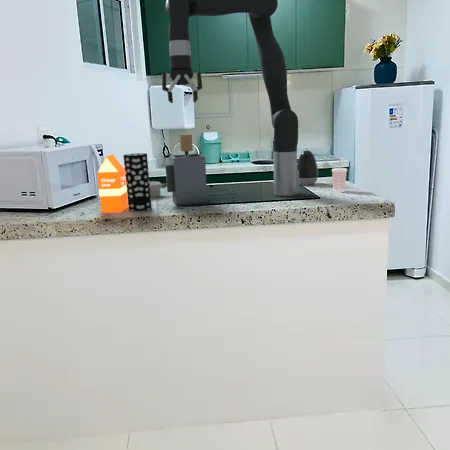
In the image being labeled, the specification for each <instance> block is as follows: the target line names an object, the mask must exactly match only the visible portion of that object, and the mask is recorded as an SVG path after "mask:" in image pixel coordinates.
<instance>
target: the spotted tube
mask: <svg viewBox="0 0 450 450" xmlns="http://www.w3.org/2000/svg"><path fill="white" fill-rule="evenodd" d="M122 156H123V165H124V166H123V168H124V170H125V180H126V189H127V200H128V207H127V208H128V211H130V212H145V211H149V210H151V209H152V200H151V199H152V198H151V195H150V183H149V182H150V174H149V162H148V161H149V160H148V153H145V152H142V153H141V152H140V153H135V152H134V153H127V154H123V155H122Z"/></svg>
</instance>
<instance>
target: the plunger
mask: <svg viewBox="0 0 450 450" xmlns="http://www.w3.org/2000/svg"><path fill="white" fill-rule="evenodd" d="M178 135H179V148H180V149H179V150H180V152H184V155H185V157H189V154H190V153H189V152H192V151H194V149H193V147H194V146H193V135H192V134H191V133H185V134H184V133H182V134H178Z"/></svg>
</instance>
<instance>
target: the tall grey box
mask: <svg viewBox="0 0 450 450" xmlns="http://www.w3.org/2000/svg"><path fill="white" fill-rule="evenodd" d="M164 166H165V175H166V176H165V177H166V183H167V186H166V190H167V193H171V195H172V203H174V205H175V207H176V208H183V207H192V206H193V207H194V206H195V207H197V206H204V205H208V188H207V186H208V185H207V170H206V168H207V167H206V156H205V155H203V154H201V153H189V157H185V154H173V155H169V164H165V165H164Z"/></svg>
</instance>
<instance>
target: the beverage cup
mask: <svg viewBox="0 0 450 450" xmlns="http://www.w3.org/2000/svg"><path fill="white" fill-rule="evenodd" d="M347 172H348V168H346V167H345V168H344V167H341V156H339V157H338V167H337V168H336V167H334V168H332V169H331V173H332V175H331V176H332V192H334V193H344V192H345V191H346V182H347Z"/></svg>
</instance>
